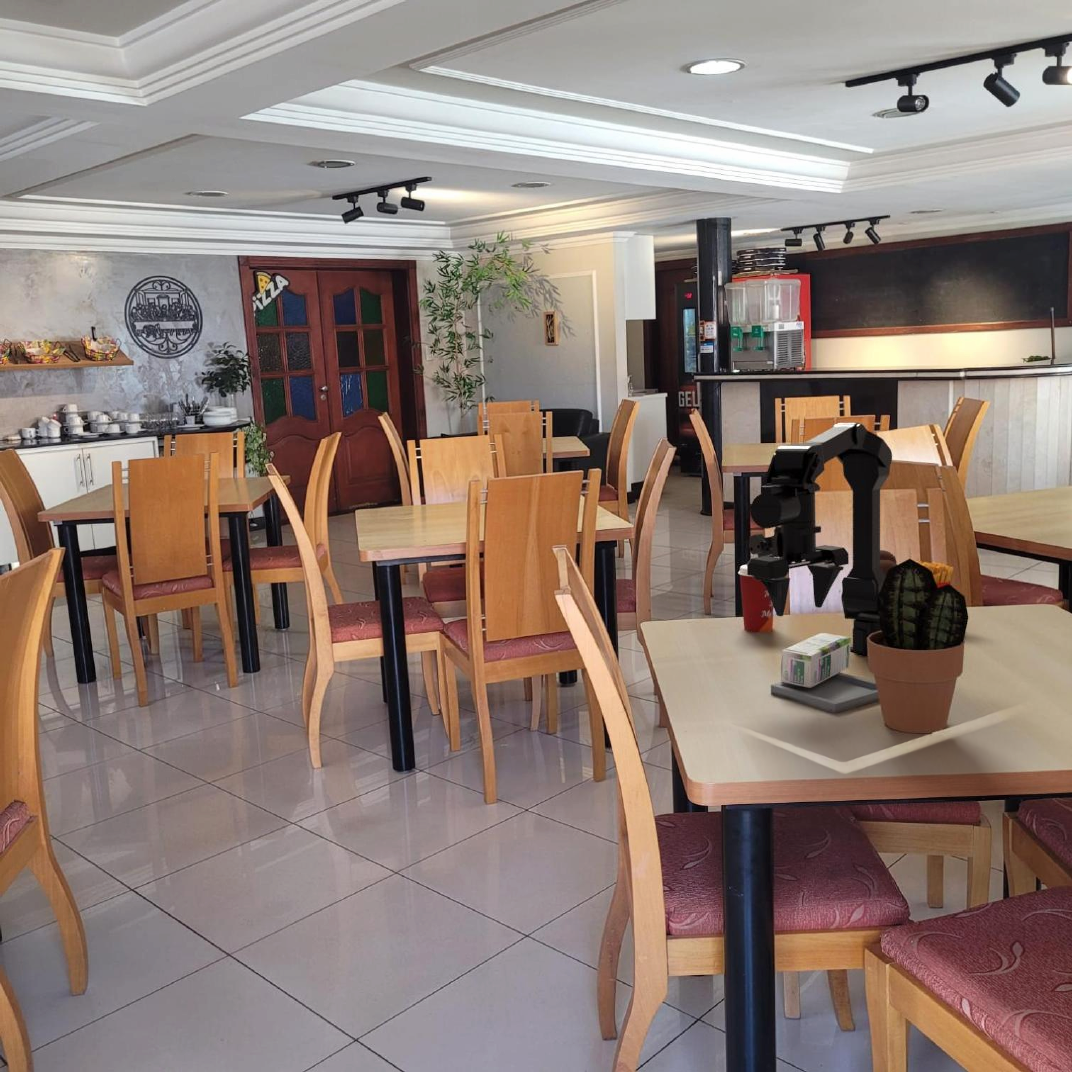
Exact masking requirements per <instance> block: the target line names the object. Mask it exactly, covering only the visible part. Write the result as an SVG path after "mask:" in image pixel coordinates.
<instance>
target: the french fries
mask: <svg viewBox="0 0 1072 1072" xmlns="http://www.w3.org/2000/svg"><path fill="white" fill-rule="evenodd" d="M914 561H915V562H917V563H919V564H921V565H923V566H924V567H926V568H928V569H929V570H931V571H932V574H933V576H934V579H935V582H936V585H937V587H938V588H939V587H942V586H945V585H947V584H950V585H951V584H952V581H951V580H950V579H951V576H952V574H953V572H954V567H953V566H950V565H947V564H946V563H944V562H942V563H941V562H936V561H934V560H933V561H932V562H931V563H930V562H928V561H927V562H926V561H922V560H917V561H916V560H914Z"/></svg>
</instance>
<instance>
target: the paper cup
mask: <svg viewBox="0 0 1072 1072" xmlns="http://www.w3.org/2000/svg"><path fill="white" fill-rule="evenodd" d="M737 573H738V575H739V579H740V593H741V603H742V604H741V605H742V618H743V619H742V620H743V628H744V630H745V631H747V632H750V633H767V632H768V633H769V632H771V631H773V628H774V627H773V626H774V624H773V623H774V607H773V604H772V601H771V599H770V596H769V594H768V592H767V590H766V588H765V586H764V585H763V584H762V583H761V582H760V581H759V580H756V579H754V578H753V576H750V575H747V564H743V565H741V566H740V567H739V571H738V572H737Z"/></svg>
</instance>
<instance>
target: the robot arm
mask: <svg viewBox="0 0 1072 1072" xmlns="http://www.w3.org/2000/svg"><path fill="white" fill-rule="evenodd" d="M834 458H836V459H837V460H838V461H839V463H841V465H842V471H843V472H842V473H843V477H844V479H845V480H846V482H847V484H848V485H849V487H850V488H851V491H852V568H851V569H850V570H849V572H848V574H847V576H844V577H843V579H842V580H841V588H842V591H841V597H840V599H841V604H842V605H841V606H842V611H843V614H844V618H845V620H849V619H850V620H853V627H852V646H850V652H853V653H857V654H863V655H866V656H868V649H867V637H868V636H869V635H870V634H872V633H875V632H878V631H882V630H881V628H880V615H879V593H880V591H881V588H882V585H883V583H884V580H885V577H886V575H885V574H884V572H883V571H882V569H881V567H880V550H881V489H882V487H883V486H884V484H885V483H886V481H887V479H888V478H889V476H890V474H891V473H890V469H891V465H892V461H893V451H892V450H891V448H890V446H888V444H887V443H886V441H885V440H884V439H883V438H882V437H880V436H879V435H876V434H875V433H873V432H871V431H869V430H867V427H866V426H865V425H864V424H863V423H859V422H838V423H836V424H834V425H833V426H832V427H831V428H830V429H828V430H826V431H823V432H822V433H820V434H819V435H816V436H815V437H813V438H811V439H808V440H807V441H805V442H800V443H790V444H784V445H780V446H779V447H777V448H776V449H775V450H774V454H773V455H772V458H771V460H770V463H769V466H768V469H767V472H766V473H765V474H766V475H765V478H764V481H763V483H762V486H760V494H759V495H757V496H755V497H754V498H753V500H752V502H751V506H750V510H749V511H750V512H749V513H750V516H751V520H753V522H754V524H756V525H757V526H758V527H760V528H762V529H765V530H766V529H767V530H768V529H773V528H774V530H773V535H771V536H767V537H765V535H763V533H759V534H753V535H751V536H749V540H748V548H749V552H750V554H752V555H753V556H754V555H757V557H753V558H750V559H749V561H748V562H747V563H746V565H747V575H750V576H753V578H754V579H756V580H759V581H760V582H761V583H762V584H763V585H764V586H765V588H766V590H767V592H768V594H769V596H770V599H771V601H772V604H773V607H774V608H773V610H774V612H775V614H776V616H777V617H784V614H785V609H786V605H787V604H786V603H787V599H788V594H789V586H790V580H791V578H790V577H788V576H787V575H788V573H789V572H790V569H797V568H801V567H807V568H808V570H809V572H810V574H811V575H812V584H813V586H812V587H813V601H814V606H815V608H818V609H820V608H822V607H823V605H824V602H825V601H826V598H827V596H828V595H829V593H830V590H831V588H832V586H833V585H834V583H835V581H836V579H837V577H838V576H839V574H840V572H841V571H843V570H844V566H845V565H849V563H850V562H849V557H850V556H849V554H850V553H849V551H847V550H846V548H845V547H842V546H841V547H840V546H834V545H827V544H823V545H818V546H817V544H816V543H817V541H816V540H817V538H816V537H817V535H816V534H818V533H822V526H820V525H817V524H816V492H818V491H820V490H821V487H820V484H818V483H816V481H817V478H818V477H819V476H820V475H821V474H822V473H824V471H825V464H826V463H827V462H830V461H831V460H833V459H834Z"/></svg>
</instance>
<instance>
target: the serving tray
mask: <svg viewBox="0 0 1072 1072" xmlns="http://www.w3.org/2000/svg"><path fill="white" fill-rule="evenodd" d="M770 695H774V696H777V697H780V698H784V699H786V700H790V701H794V702H797V703H800V704H803V705H807V706H810V707H813V708H816V709H820V710H823V711H826V712H828V713H832V714H838V713H841V712H845V711H848V710H852V709H855V708H858V707H861V706H866V705H868V704H871V703H874V702H880V701H879V696H878V692H877V687H876V682H875V680H870V679H868V678H867V679H866V678H863V677H859V676H856V675H855V676H854V675H851V674H849V673H848V674H847V673H843V672H840V673H838V674H836V675H834V676H832V677H830V678H828V679H826V680H824V681H823V682H821V683H819V684H817V685H815V686H813V687H811V688H809V687H804V686H799V685H794V684H789V683H784V682H781V681H780V682H777V683H773V684H770Z"/></svg>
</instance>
